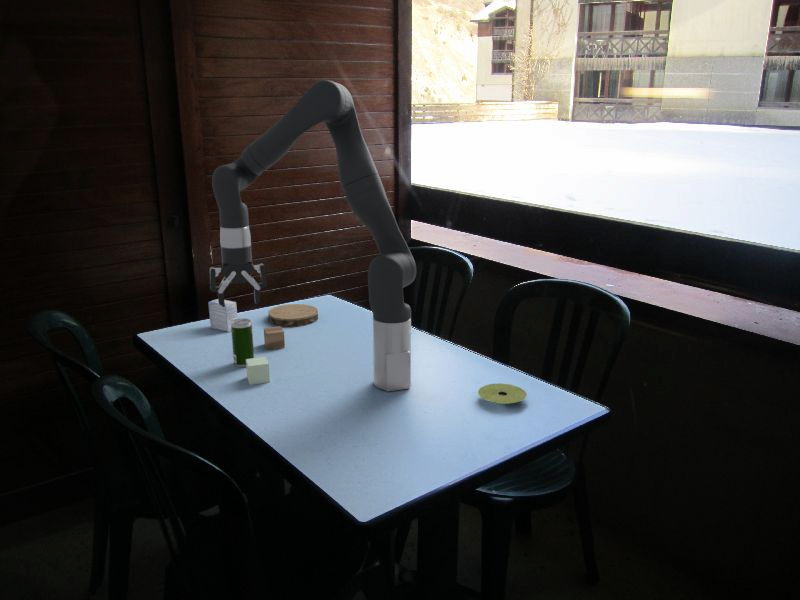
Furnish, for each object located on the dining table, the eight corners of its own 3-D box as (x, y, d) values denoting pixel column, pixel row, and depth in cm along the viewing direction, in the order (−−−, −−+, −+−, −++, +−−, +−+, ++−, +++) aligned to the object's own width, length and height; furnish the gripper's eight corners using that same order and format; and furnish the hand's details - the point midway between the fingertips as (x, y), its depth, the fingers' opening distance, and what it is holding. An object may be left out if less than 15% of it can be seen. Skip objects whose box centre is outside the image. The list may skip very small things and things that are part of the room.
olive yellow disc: (486, 412, 148) (486, 405, 148) (471, 392, 159) (472, 385, 158) (533, 408, 151) (534, 400, 150) (515, 388, 161) (516, 381, 161)
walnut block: (284, 348, 189) (284, 331, 187) (267, 350, 187) (266, 333, 186) (281, 342, 193) (280, 326, 192) (264, 344, 191) (263, 328, 190)
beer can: (240, 369, 173) (237, 325, 170) (230, 363, 177) (226, 321, 173) (258, 363, 177) (255, 321, 173) (247, 358, 180) (244, 316, 177)
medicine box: (238, 328, 205) (237, 302, 202) (228, 332, 201) (226, 305, 199) (220, 324, 209) (218, 298, 206) (210, 328, 205) (207, 301, 203)
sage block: (269, 382, 165) (268, 363, 164) (249, 385, 164) (248, 366, 162) (266, 374, 170) (265, 356, 168) (246, 377, 168) (245, 359, 167)
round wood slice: (272, 330, 204) (272, 321, 204) (265, 315, 219) (264, 306, 218) (323, 324, 209) (322, 315, 209) (312, 310, 224) (312, 302, 223)
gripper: (208, 248, 162) (213, 311, 167) (266, 244, 167) (269, 306, 171) (205, 242, 169) (210, 303, 173) (261, 239, 173) (265, 298, 178)
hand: (240, 304), depth 172 cm, fingers open, 8 cm apart
